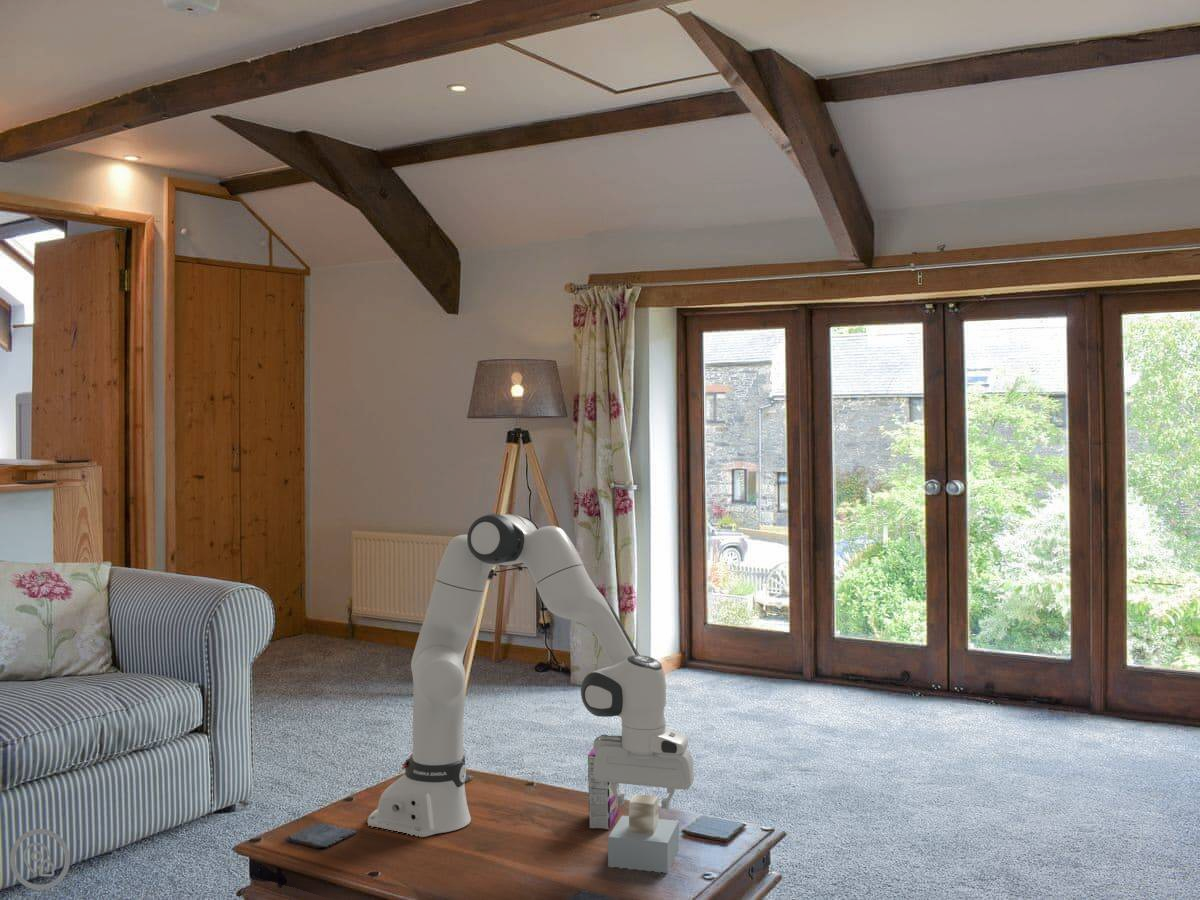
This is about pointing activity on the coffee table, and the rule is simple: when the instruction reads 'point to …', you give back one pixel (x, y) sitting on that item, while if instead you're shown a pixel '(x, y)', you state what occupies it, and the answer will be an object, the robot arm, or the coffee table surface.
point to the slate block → (643, 846)
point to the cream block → (643, 814)
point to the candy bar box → (600, 800)
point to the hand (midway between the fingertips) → (642, 806)
